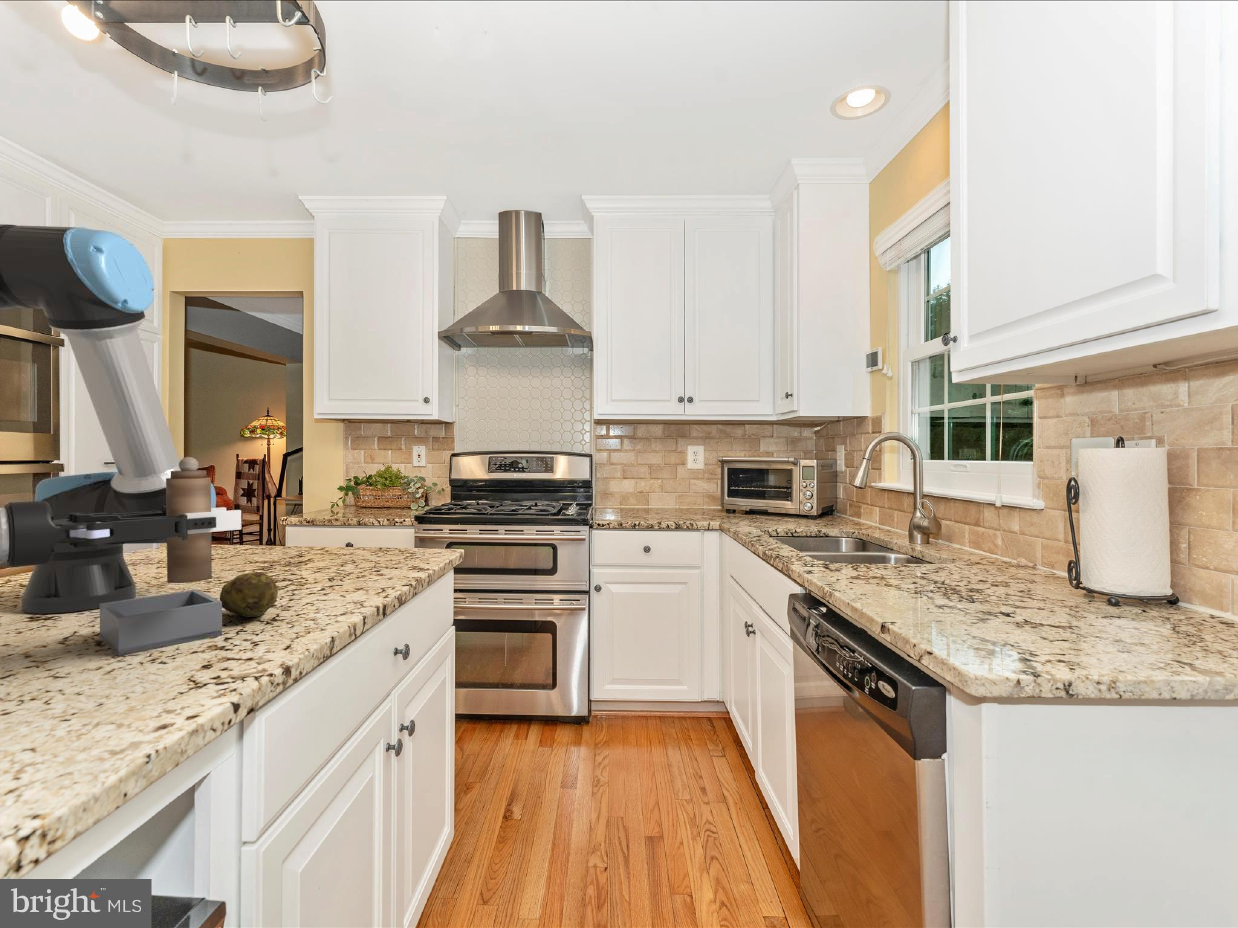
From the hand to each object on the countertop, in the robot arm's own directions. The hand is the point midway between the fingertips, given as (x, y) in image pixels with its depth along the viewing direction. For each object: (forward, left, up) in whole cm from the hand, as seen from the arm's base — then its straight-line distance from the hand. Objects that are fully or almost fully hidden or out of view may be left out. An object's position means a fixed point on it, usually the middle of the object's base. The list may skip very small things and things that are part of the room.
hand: (232, 518), depth 86 cm
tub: (-10, -6, -18) cm, 21 cm away
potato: (-11, +6, -18) cm, 22 cm away
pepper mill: (0, -5, -8) cm, 10 cm away
